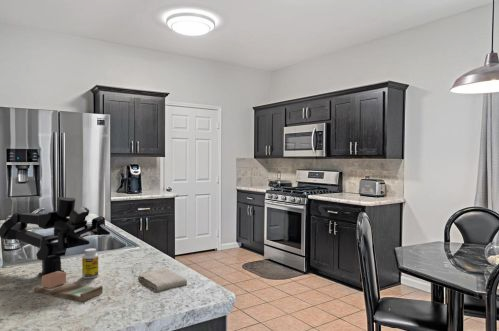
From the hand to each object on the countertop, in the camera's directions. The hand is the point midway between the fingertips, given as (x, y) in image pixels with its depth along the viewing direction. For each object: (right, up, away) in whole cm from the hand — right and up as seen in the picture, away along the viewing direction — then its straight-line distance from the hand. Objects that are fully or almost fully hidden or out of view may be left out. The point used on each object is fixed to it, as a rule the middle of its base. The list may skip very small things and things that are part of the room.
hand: (99, 237), depth 130 cm
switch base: (-7, -16, -9) cm, 20 cm away
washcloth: (+22, -17, +1) cm, 28 cm away
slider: (-13, -14, -7) cm, 20 cm away
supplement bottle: (-6, -16, +7) cm, 19 cm away
